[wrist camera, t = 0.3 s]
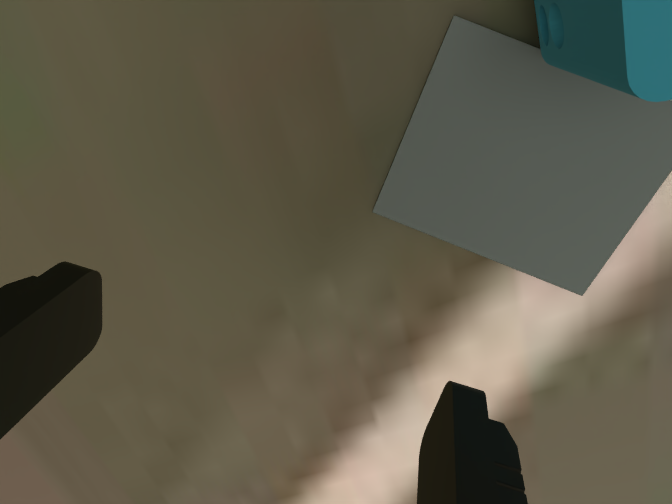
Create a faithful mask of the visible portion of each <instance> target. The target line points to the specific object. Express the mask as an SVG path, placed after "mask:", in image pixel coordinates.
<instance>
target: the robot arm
mask: <svg viewBox="0 0 672 504" xmlns="http://www.w3.org/2000/svg"><path fill="white" fill-rule="evenodd" d="M101 330H102V278H101V275H100V273H99V272H97V271H95V270H92V269H88V268H85V267H82V266H79V265H75V264H72V263H69V262H61V263H59V264H57V265H55V266H54V267H52V268H51V269H49V270H48V271H46V272H45V273H43V274H42V275H40V276H38V277H36V276H31V277H28V278H24V279H21V280H18V281H15V282H12V283H9V284H6V285H4V286H3V287H1V288H0V439H1V438H2V437H3V436H4V435H5V434H6V433H7V432H8V431H9V430H10V429H11V428H12V427H14V426H15V425H16V424H17V423H18V422H19V421H20V420H21V419H22V418H23V417H24V416H25V415H26V414H27V413H28V412H29V411H30V410H31V409H32V408H33V407H34V406H35V405H36V404H37V403H38V402H39V401H40V400H41V399H42V398H43V397H44V396H45V395H47V394H48V393H49V392H50V391H51V390H52V389H53V388H54V387H55V386H56V385H57V384H58V383H59V382H60V381H61V380H62V379H63V378H64V377H65V376H66V375H67V374H68V373H69V372H70V371H71V370H72V369H73V368H74V367H75V366H76V365H77V364H78V363H80V362H81V361H82V360H83V359H84V358H85V357H86V356H87V355H88V354H89V353H90V352H91V351H92V349H93V348H94V346H95V345H96V343H97V341H98V339H99V337H100V334H101ZM524 491H525V487H524V481H523V476H522V474H521V465H520V459H519V454H518V448H517V445H516V444H515V442H514V440H513V438H512V437H511V435H510V433H509V432H508V430H507V428H506V426H505V425H504V423H501V422H498V421H494V420H491V419H489V418H488V410H487V402H486V395H485V393H484V391H481V390H478V389H475V388H471V387H468V386H465V385H462V384H458V383H455V382H452V381H449V382H447V384H446V385H445V387H444V389H443V392H442V394H441V396H440V398H439V401H438V403H437V405H436V407H435V409H434V412H433V414H432V416H431V418H430V421H429V423H428V425H427V427H426V430H425V432H424V435H423V439H422V443H421V448H420V454H419V470H418V492H417V504H528V503H527V498H526V495H525V494H524Z"/></svg>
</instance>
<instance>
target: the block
mask: <svg viewBox="0 0 672 504" xmlns="http://www.w3.org/2000/svg"><path fill="white" fill-rule="evenodd" d="M534 3H535V11H536V18H537V26H538V33H539V41H540V48H541V54H542V58H543V59H544V61H545V62H546V63H548V64H549V65H551V66H554V67H557V68H559V69H562V70H565V71H568V72H570V73H573V74H576V75H578V76H581V77H584V78H586V79H589V80H592V81H595V82H597V83H600V84H603V85H605V86H608V87H611V88H614V89H616V90H619V91H622V92H624V93H627V94H630V95H632V96H635V97H638V98H641V99H643V100H646V101H651V102H661V101H667V100H671V99H672V0H534Z"/></svg>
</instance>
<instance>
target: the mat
mask: <svg viewBox="0 0 672 504" xmlns="http://www.w3.org/2000/svg"><path fill="white" fill-rule="evenodd" d="M671 171H672V101H671V100H667V101H661V102H651V101H646V100H643V99H641V98H638V97H635V96H632V95H630V94H627V93H624V92H622V91H619V90H616V89H614V88H611V87H608V86H605V85H603V84H600V83H597V82H595V81H592V80H589V79H586V78H584V77H581V76H578V75H576V74H573V73H570V72H568V71H565V70H562V69H559V68H557V67H554V66H551V65H549V64H548V63H546V62H545V61H544V59H543V58H542V54H541V49H539V48H536V47H533V46H531V45H528V44H526V43H523V42H521V41H518V40H516V39H513V38H510V37H508V36H505V35H503V34H500V33H498V32H495V31H493V30H490V29H488V28H485V27H482V26H480V25H477V24H475V23H472V22H470V21H467V20H465V19H462V18H460V17H457V16H453V19H452V21H451V24H450V26H449V28H448V31H447V33H446V36H445V38H444V40H443V43H442V45H441V48H440V50H439V52H438V55H437V57H436V60H435V62H434V64H433V67H432V69H431V72H430V74H429V76H428V79H427V81H426V84H425V86H424V89H423V91H422V93H421V96H420V98H419V101H418V103H417V105H416V108H415V110H414V113H413V115H412V117H411V120H410V122H409V125H408V127H407V129H406V132H405V134H404V137H403V139H402V141H401V144H400V146H399V149H398V151H397V154H396V156H395V158H394V161H393V163H392V166H391V168H390V170H389V173H388V175H387V178H386V180H385V182H384V185H383V187H382V190H381V192H380V194H379V197H378V199H377V202H376V204H375V206H374V209H373V213H376V214H378V215H381V216H383V217H386V218H388V219H391V220H393V221H396V222H398V223H401V224H403V225H406V226H408V227H411V228H413V229H416V230H418V231H421V232H423V233H426V234H428V235H431V236H433V237H436V238H438V239H441V240H443V241H446V242H448V243H451V244H453V245H456V246H458V247H461V248H463V249H466V250H468V251H471V252H473V253H476V254H479V255H481V256H484V257H486V258H489V259H491V260H494V261H496V262H499V263H501V264H504V265H506V266H509V267H511V268H514V269H516V270H519V271H521V272H524V273H526V274H529V275H531V276H534V277H536V278H539V279H541V280H544V281H546V282H549V283H551V284H554V285H556V286H559V287H561V288H564V289H566V290H569V291H571V292H574V293H576V294H579V295H581V296H583V294H584V293H585V291H586V290H587V289H588V287H589V286H590V284H591V283H592V282H593V280H594V279H595V277H596V276H597V274H598V273H599V272H600V270H601V269H602V267H603V266H604V265H605V263H606V262H607V260H608V259H609V258H610V256H611V255H612V253H613V252H614V251H615V249H616V248H617V246H618V245H619V244H620V242H621V241H622V239H623V238H624V237H625V235H626V234H627V232H628V231H629V230H630V228H631V227H632V225H633V224H634V223H635V221H636V220H637V218H638V217H639V216H640V214H641V213H642V211H643V210H644V209H645V207H646V206H647V204H648V203H649V202H650V200H651V199H652V197H653V196H654V195H655V193H656V192H657V190H658V189H659V187H660V186H661V185H662V183H663V182H664V180H665V179H666V178H667V176H668V175H669V173H670V172H671Z"/></svg>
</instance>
